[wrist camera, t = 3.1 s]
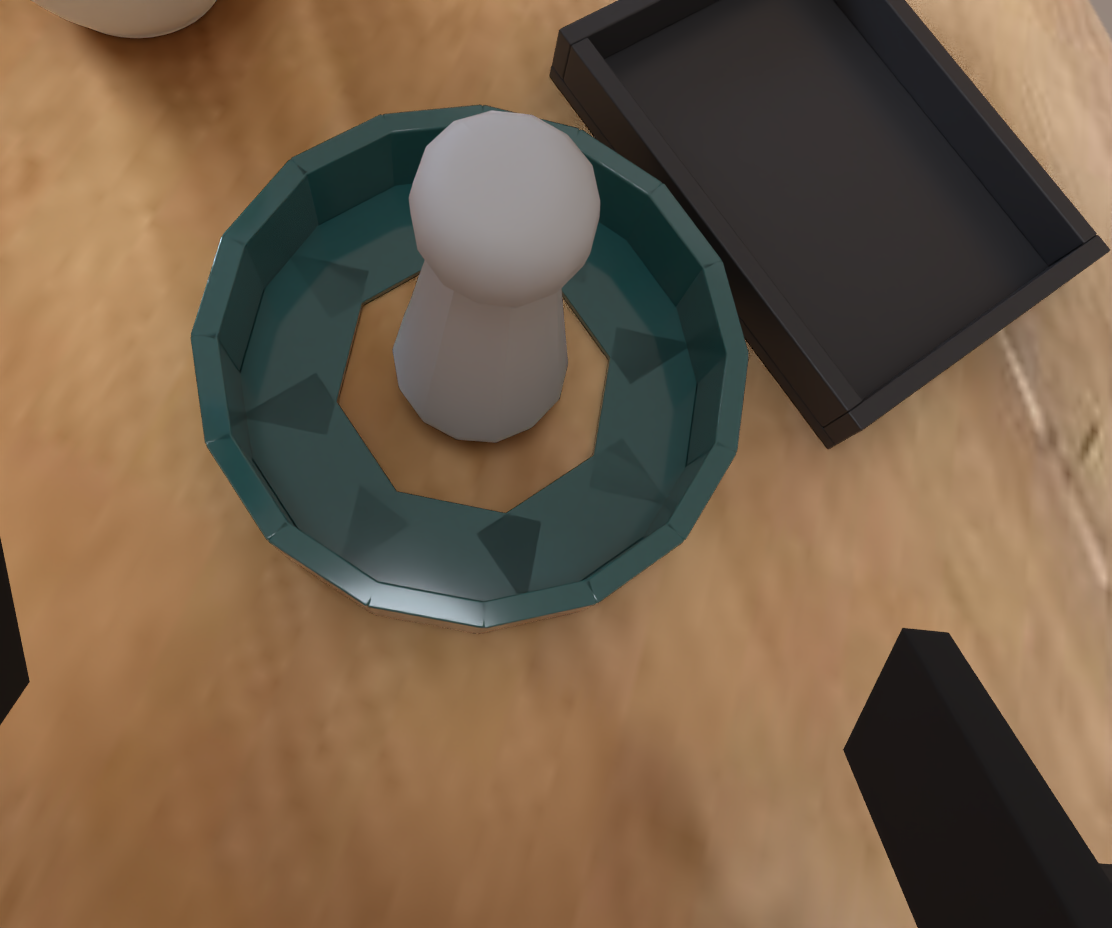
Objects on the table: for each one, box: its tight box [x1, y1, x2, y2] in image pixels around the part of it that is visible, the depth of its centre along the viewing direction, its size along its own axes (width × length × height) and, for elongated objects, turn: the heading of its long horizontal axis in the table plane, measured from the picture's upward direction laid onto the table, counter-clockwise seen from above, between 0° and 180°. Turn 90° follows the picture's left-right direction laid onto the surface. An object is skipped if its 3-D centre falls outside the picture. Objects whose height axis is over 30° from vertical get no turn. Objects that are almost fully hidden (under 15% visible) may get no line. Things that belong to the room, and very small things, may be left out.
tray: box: [550, 0, 1110, 449], centre depth 33 cm, size 19×14×3 cm
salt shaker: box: [393, 110, 600, 443], centre depth 24 cm, size 6×6×13 cm
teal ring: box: [191, 105, 749, 634], centre depth 29 cm, size 18×18×4 cm
